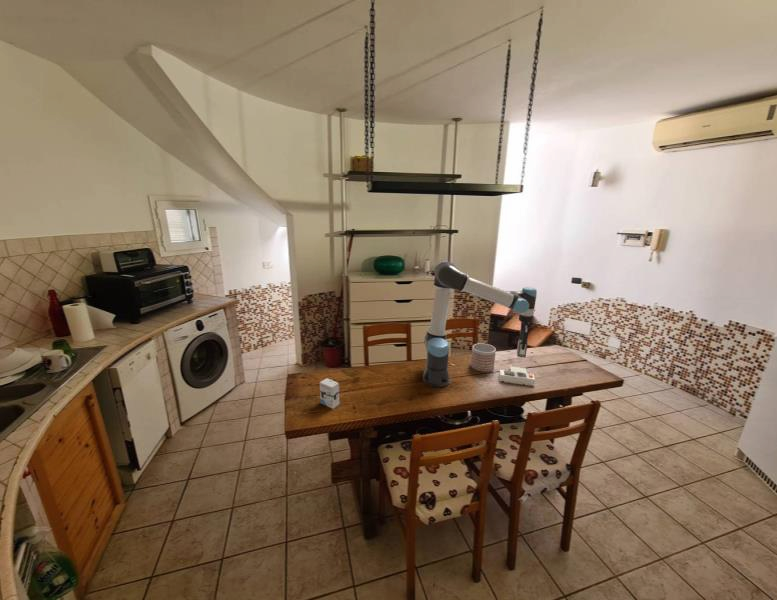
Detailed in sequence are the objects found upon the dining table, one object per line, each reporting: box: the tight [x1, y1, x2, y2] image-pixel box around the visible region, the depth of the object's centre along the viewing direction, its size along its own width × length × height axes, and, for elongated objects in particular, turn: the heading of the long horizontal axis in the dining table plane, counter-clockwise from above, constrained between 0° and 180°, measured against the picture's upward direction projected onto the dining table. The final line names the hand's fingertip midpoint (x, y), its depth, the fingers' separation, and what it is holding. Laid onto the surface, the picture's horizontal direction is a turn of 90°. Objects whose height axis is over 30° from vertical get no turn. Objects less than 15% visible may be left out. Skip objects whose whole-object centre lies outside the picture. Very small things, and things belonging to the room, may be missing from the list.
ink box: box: [319, 378, 340, 410], centre depth 157 cm, size 8×5×12 cm, turn 56°
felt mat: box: [509, 365, 528, 373], centre depth 194 cm, size 9×9×1 cm
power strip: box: [498, 369, 536, 387], centre depth 183 cm, size 18×6×5 cm, turn 75°
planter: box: [470, 342, 497, 373], centre depth 198 cm, size 14×14×13 cm
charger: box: [516, 339, 528, 359], centre depth 190 cm, size 4×4×9 cm
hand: (521, 352), depth 191 cm, fingers closed on charger, 4 cm apart
